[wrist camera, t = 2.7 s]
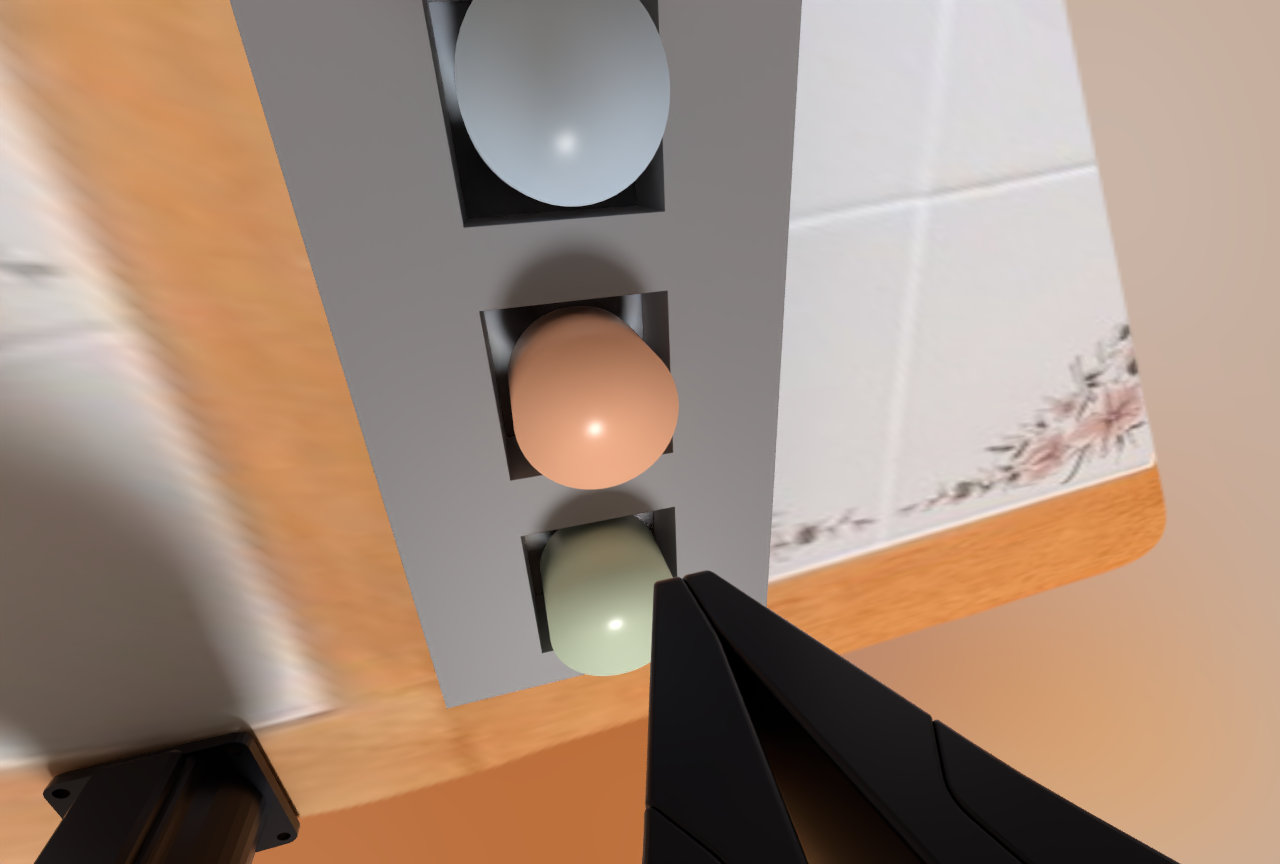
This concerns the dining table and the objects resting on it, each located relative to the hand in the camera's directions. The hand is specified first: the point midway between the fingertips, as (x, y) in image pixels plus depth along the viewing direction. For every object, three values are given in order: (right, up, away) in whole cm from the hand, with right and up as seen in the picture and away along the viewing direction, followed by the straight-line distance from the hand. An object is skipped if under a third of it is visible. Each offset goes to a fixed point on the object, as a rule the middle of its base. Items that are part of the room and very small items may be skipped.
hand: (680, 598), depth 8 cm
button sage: (-2, -2, +12) cm, 12 cm away
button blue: (-3, +10, +6) cm, 12 cm away
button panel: (-3, +5, +10) cm, 12 cm away
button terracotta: (-2, +4, +9) cm, 10 cm away
